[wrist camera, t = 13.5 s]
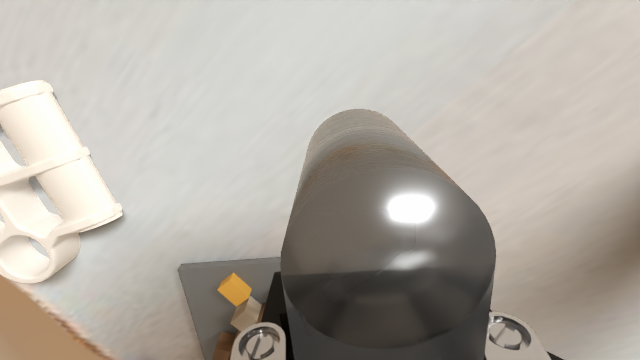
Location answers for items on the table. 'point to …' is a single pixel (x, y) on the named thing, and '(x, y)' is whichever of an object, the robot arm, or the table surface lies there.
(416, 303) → the chain link
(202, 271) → the index base plate
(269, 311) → the robot arm
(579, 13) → the table surface
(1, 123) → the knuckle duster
